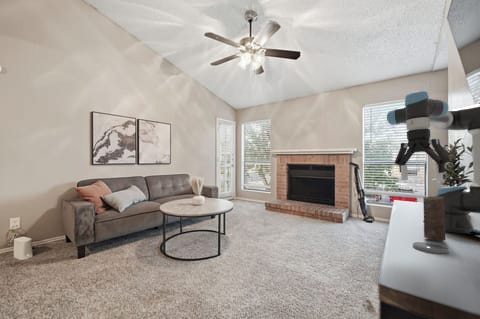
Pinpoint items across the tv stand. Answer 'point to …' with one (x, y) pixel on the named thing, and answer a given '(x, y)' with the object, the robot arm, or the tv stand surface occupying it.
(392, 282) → the tv stand surface
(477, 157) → the robot arm
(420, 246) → the coaster
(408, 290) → the tv stand surface
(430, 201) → the candle
